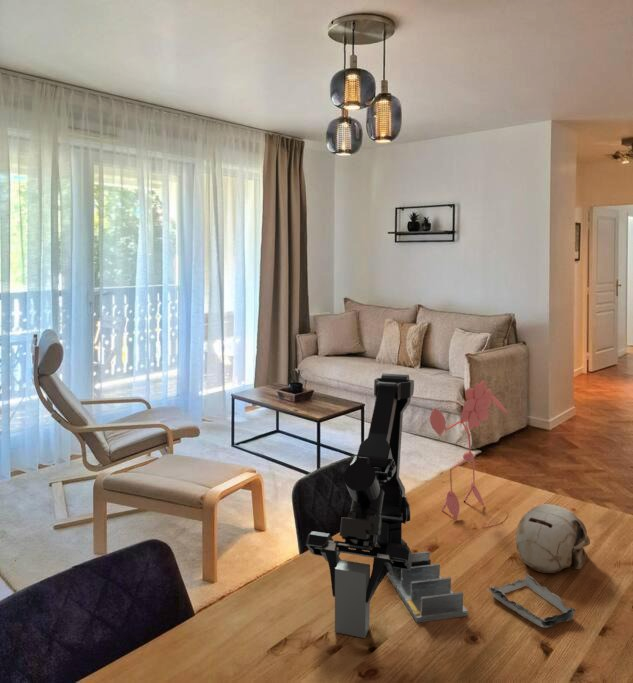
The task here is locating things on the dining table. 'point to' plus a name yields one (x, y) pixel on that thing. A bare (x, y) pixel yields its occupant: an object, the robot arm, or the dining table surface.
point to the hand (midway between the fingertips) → (350, 599)
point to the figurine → (474, 413)
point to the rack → (427, 590)
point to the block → (352, 598)
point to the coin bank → (551, 539)
